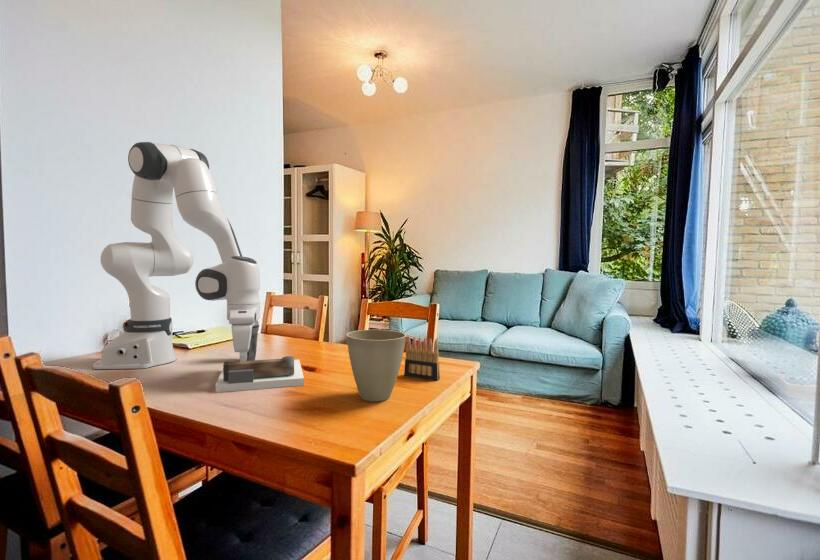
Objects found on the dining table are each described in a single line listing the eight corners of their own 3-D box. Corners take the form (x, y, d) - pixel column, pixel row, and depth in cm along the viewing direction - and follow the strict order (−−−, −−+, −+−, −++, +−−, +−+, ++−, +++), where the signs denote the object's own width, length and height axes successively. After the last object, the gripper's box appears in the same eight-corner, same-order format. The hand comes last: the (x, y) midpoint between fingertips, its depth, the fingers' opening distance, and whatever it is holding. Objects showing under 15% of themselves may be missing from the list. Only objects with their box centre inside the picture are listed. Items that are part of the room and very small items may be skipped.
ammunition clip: (439, 379, 122) (440, 338, 121) (437, 381, 120) (437, 339, 119) (406, 374, 126) (407, 335, 126) (404, 376, 125) (404, 336, 124)
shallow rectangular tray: (215, 392, 107) (215, 373, 107) (225, 370, 128) (224, 354, 128) (304, 385, 114) (304, 367, 114) (299, 365, 135) (299, 350, 135)
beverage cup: (263, 357, 145) (263, 300, 144) (253, 363, 137) (253, 302, 136) (243, 357, 145) (242, 299, 144) (232, 362, 138) (231, 301, 137)
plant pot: (382, 411, 95) (383, 342, 94) (333, 399, 103) (333, 335, 102) (416, 394, 108) (417, 332, 107) (370, 384, 116) (370, 327, 115)
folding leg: (293, 371, 119) (293, 355, 118) (294, 375, 115) (294, 358, 115) (224, 377, 113) (224, 360, 112) (223, 380, 109) (223, 363, 109)
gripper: (234, 308, 129) (234, 352, 130) (228, 318, 110) (228, 370, 111) (256, 308, 131) (256, 351, 132) (254, 318, 112) (254, 369, 113)
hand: (243, 360), depth 121 cm, fingers closed
